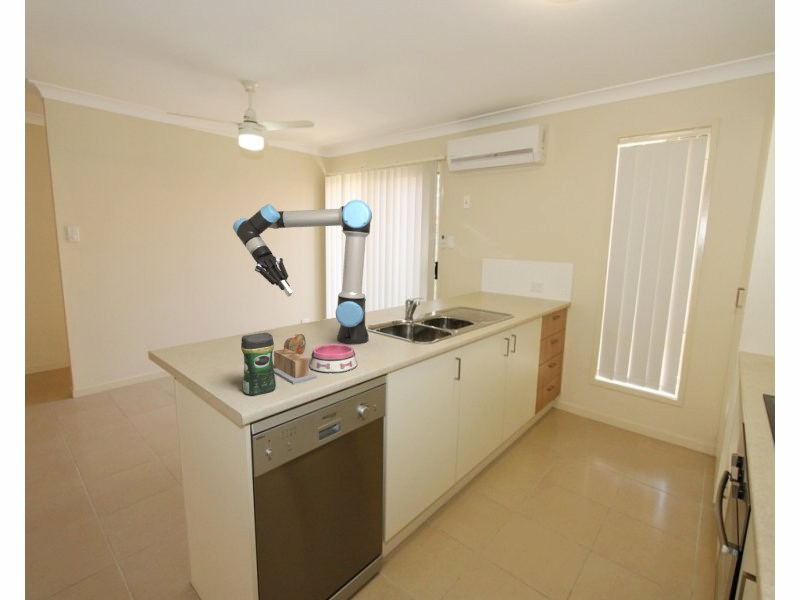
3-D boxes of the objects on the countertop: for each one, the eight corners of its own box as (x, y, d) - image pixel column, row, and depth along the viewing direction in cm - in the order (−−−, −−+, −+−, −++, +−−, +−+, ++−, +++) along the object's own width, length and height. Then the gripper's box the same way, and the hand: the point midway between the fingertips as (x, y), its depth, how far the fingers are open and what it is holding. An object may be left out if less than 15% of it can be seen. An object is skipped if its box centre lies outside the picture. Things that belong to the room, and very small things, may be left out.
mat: (294, 366, 145) (294, 364, 145) (316, 378, 133) (316, 375, 133) (271, 371, 139) (271, 369, 138) (293, 384, 127) (293, 381, 127)
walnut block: (286, 348, 144) (308, 358, 132) (286, 363, 145) (308, 375, 133) (273, 351, 140) (295, 361, 129) (274, 366, 141) (295, 378, 130)
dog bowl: (308, 359, 154) (308, 343, 153) (354, 357, 159) (354, 341, 158) (309, 375, 137) (309, 357, 135) (360, 372, 141) (361, 354, 140)
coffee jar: (269, 383, 128) (268, 329, 125) (278, 391, 122) (277, 334, 119) (239, 389, 122) (237, 333, 119) (247, 398, 116) (245, 338, 113)
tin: (289, 361, 151) (289, 341, 149) (282, 360, 151) (282, 340, 150) (306, 351, 165) (306, 332, 164) (299, 350, 166) (299, 331, 165)
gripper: (270, 251, 168) (300, 293, 164) (243, 260, 159) (274, 304, 155) (274, 241, 162) (305, 284, 159) (247, 249, 153) (279, 295, 150)
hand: (290, 294), depth 157 cm, fingers closed
